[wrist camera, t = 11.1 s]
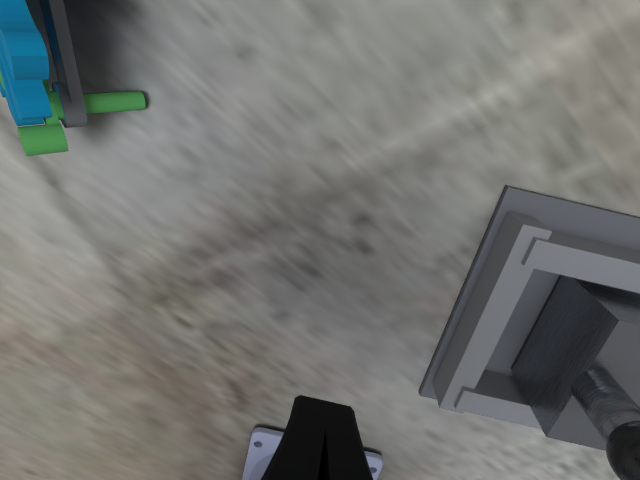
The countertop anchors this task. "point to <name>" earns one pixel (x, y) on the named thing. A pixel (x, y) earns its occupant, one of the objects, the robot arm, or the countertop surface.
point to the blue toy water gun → (33, 71)
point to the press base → (523, 295)
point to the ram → (587, 370)
